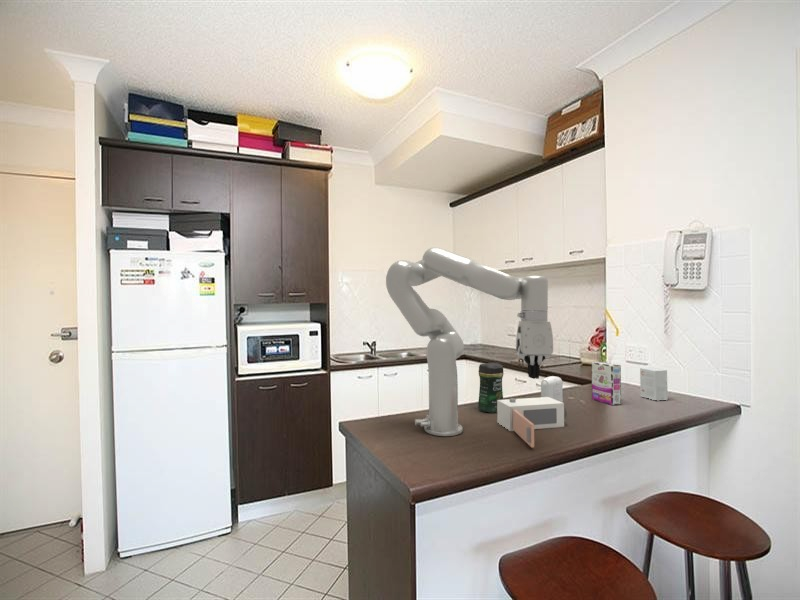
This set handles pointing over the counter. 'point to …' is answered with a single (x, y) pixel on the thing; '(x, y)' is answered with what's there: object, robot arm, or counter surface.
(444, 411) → the robot arm
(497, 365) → the coffee jar
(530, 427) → the side door
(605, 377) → the candy bar box
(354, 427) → the counter surface
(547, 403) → the white box
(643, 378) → the small box
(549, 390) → the white rounded block
